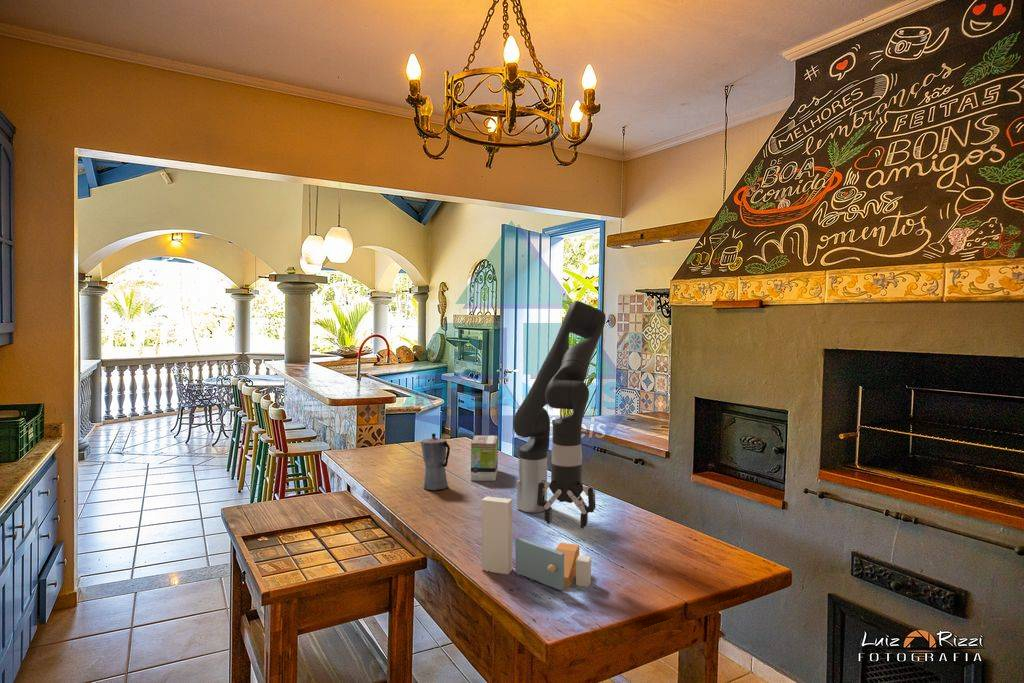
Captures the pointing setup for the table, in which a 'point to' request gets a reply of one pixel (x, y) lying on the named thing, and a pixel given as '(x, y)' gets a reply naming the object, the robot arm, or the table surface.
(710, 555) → the table surface
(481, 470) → the tea box
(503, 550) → the door frame
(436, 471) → the moka pot
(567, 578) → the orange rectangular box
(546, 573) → the door
